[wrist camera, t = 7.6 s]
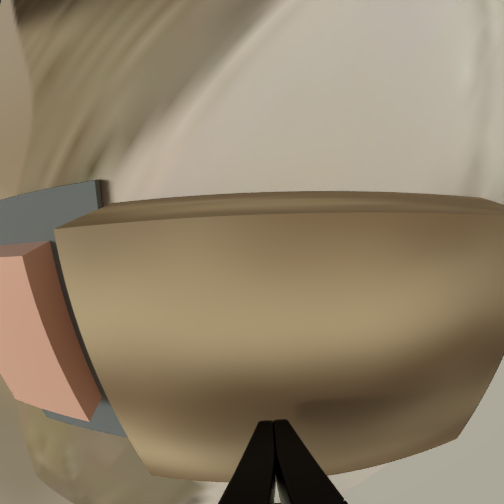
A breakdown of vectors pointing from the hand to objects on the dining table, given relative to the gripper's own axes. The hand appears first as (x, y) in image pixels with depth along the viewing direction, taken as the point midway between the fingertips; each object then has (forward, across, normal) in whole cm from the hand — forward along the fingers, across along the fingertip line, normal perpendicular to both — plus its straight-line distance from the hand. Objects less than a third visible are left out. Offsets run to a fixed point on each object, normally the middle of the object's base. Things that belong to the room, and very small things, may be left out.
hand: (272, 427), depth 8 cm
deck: (+5, -2, 0) cm, 5 cm away
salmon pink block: (+2, +12, -1) cm, 12 cm away
